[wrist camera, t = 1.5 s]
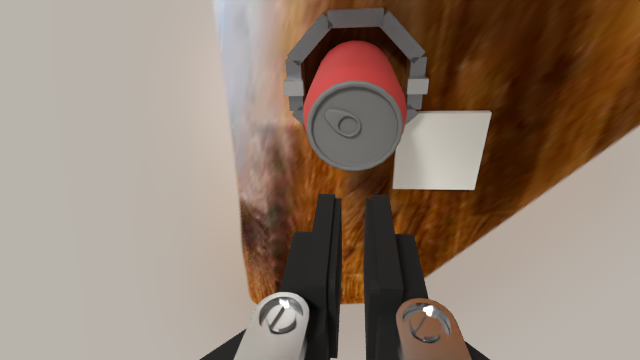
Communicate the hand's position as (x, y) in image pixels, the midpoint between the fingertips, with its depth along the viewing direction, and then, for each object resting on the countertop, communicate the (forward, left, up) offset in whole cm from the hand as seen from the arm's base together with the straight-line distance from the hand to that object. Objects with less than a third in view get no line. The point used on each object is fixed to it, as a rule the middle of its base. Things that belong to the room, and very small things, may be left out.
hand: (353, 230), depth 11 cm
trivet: (+7, +8, -21) cm, 24 cm away
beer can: (0, 0, -21) cm, 21 cm away
